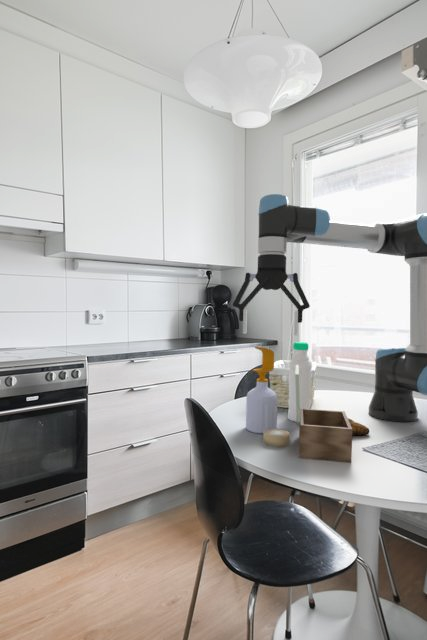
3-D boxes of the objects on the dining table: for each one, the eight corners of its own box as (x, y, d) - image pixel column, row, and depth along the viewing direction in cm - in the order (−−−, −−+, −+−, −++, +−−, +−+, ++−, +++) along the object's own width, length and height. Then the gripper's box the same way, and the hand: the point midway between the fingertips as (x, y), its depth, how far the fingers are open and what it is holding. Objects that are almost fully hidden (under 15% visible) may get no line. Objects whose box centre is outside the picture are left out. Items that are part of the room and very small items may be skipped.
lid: (298, 364, 112) (295, 364, 112) (299, 374, 97) (294, 374, 97) (300, 409, 112) (296, 409, 113) (300, 425, 97) (296, 425, 97)
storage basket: (276, 394, 167) (277, 358, 166) (316, 397, 162) (317, 360, 161) (266, 408, 144) (267, 367, 143) (313, 412, 139) (314, 370, 138)
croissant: (322, 436, 114) (322, 418, 114) (319, 429, 121) (320, 412, 120) (372, 439, 112) (372, 421, 112) (366, 431, 119) (367, 415, 118)
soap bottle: (239, 428, 119) (241, 346, 118) (259, 422, 126) (260, 344, 124) (263, 436, 113) (265, 349, 112) (282, 429, 119) (284, 347, 118)
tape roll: (289, 438, 111) (290, 430, 111) (289, 447, 104) (289, 438, 104) (264, 436, 112) (264, 428, 112) (262, 445, 106) (262, 436, 106)
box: (343, 440, 111) (344, 411, 110) (351, 462, 95) (352, 429, 95) (299, 436, 113) (299, 408, 113) (299, 457, 97) (300, 425, 97)
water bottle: (310, 423, 125) (312, 343, 124) (287, 421, 127) (289, 343, 126) (309, 417, 132) (311, 341, 131) (288, 415, 134) (289, 341, 133)
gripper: (318, 256, 109) (316, 334, 110) (227, 256, 113) (226, 331, 114) (321, 253, 102) (318, 336, 102) (223, 253, 106) (222, 333, 107)
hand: (269, 334), depth 108 cm, fingers open, 13 cm apart
